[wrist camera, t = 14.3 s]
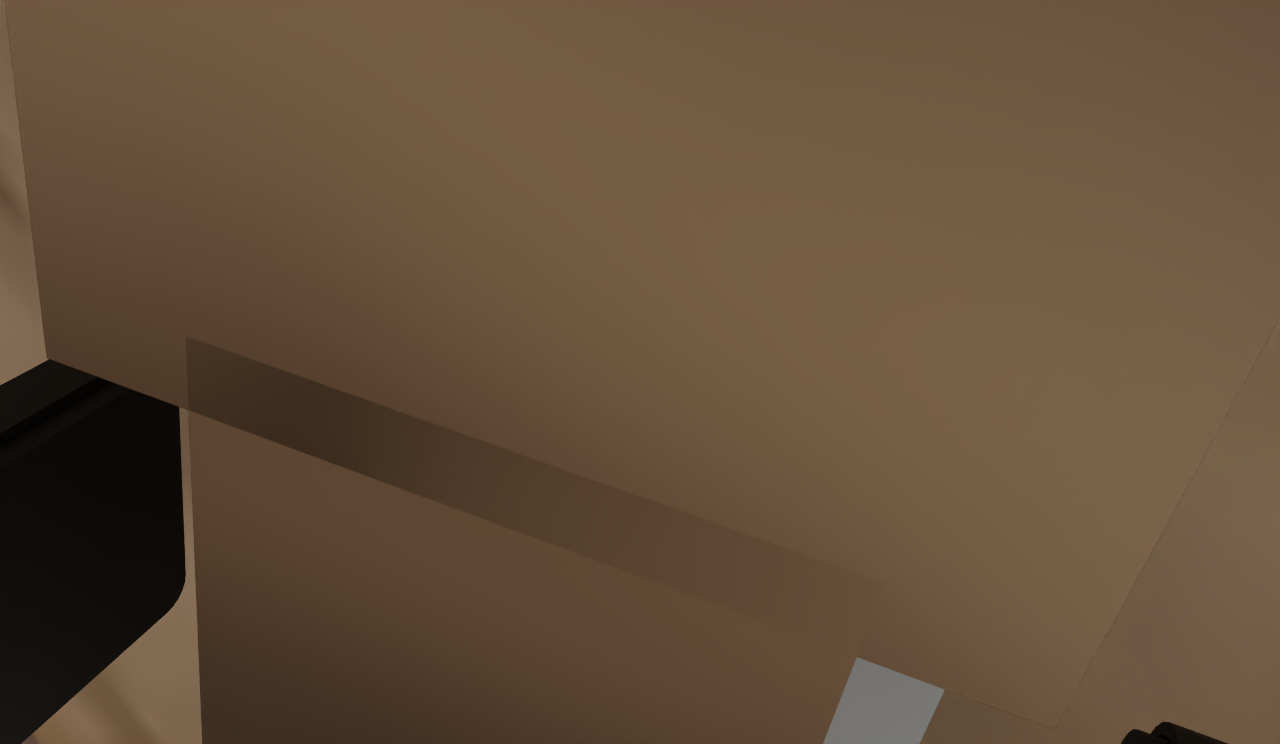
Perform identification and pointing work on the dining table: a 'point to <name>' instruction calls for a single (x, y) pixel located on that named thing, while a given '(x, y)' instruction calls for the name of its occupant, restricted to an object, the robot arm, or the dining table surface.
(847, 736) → the rest
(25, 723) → the robot arm
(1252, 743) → the dining table surface
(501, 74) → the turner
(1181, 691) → the dining table surface
